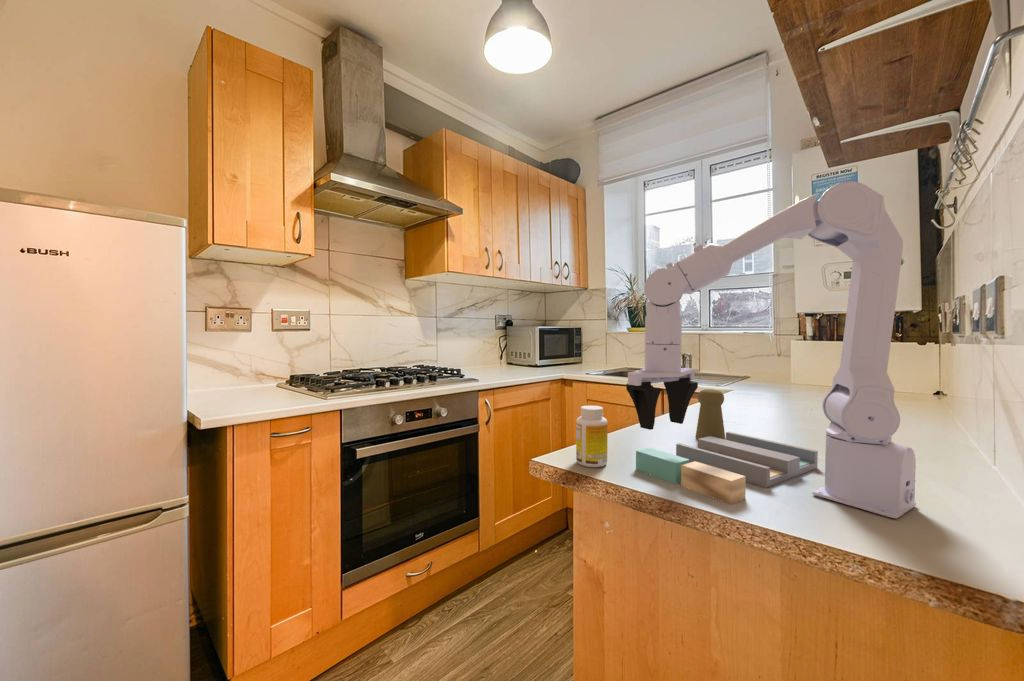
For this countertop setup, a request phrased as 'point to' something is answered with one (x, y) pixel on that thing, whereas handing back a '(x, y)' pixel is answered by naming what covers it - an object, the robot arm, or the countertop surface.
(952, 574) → the countertop surface
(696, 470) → the oak stick
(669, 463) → the teal stick
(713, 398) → the cork
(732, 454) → the rack
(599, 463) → the supplement bottle
